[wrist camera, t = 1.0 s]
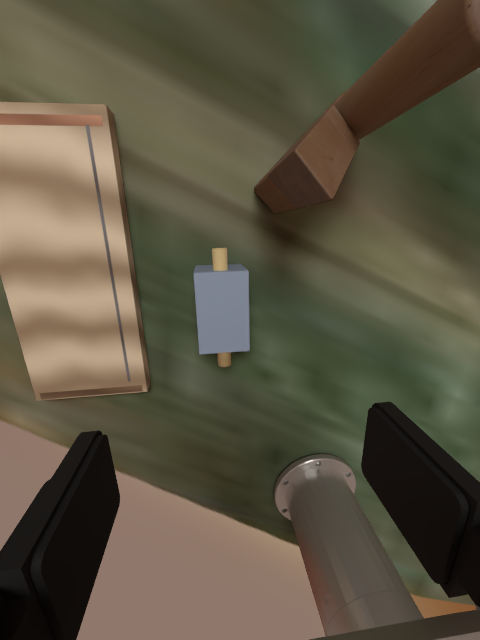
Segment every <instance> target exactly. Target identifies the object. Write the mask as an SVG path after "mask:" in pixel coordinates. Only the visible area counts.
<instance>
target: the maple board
mask: <svg viewBox="0 0 480 640" xmlns="http://www.w3.org/2000/svg"><path fill="white" fill-rule="evenodd" d="M0 275H1V278H2V282H3V285H4V289H5V292H6V295H7V299H8V302H9V306H10V309H11V313H12V316H13V320H14V323H15V327H16V330H17V334H18V337H19V341H20V344H21V348H22V351H23V355H24V358H25V362H26V365H27V369H28V372H29V375H30V379H31V382H32V386H33V389H34V393H35V396H36V400H37V401H38V400H50V399H63V398H75V397H87V396H99V395H111V394H123V393H136V392H147V391H148V388H149V386H150V383H151V382H150V375H149V368H148V361H147V353H146V346H145V339H144V332H143V324H142V317H141V310H140V303H139V295H138V288H137V281H136V273H135V266H134V259H133V252H132V244H131V237H130V230H129V223H128V215H127V208H126V201H125V194H124V186H123V179H122V172H121V165H120V157H119V150H118V143H117V136H116V128H115V121H114V114H113V113H112V112H111V110H110V109H109V108H108V106H107V105H103V104H62V103H21V102H0Z"/></svg>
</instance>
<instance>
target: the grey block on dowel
mask: <svg viewBox="0 0 480 640" xmlns="http://www.w3.org/2000/svg"><path fill="white" fill-rule="evenodd" d="M212 257H213V265H197V266H195V270H194V286H195V299H196V313H197V327H198V340H199V354H211V353H218V365H219V366H221V367H227V366H230V365H231V352H240V351H250V342H249V271H248V270H247V269H246V268H245V267H244V266H243V265H241V264H228V262H227V248H212Z"/></svg>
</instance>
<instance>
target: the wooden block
mask: <svg viewBox="0 0 480 640" xmlns="http://www.w3.org/2000/svg"><path fill="white" fill-rule="evenodd" d="M479 67H480V0H438V1H437V2H436V3H435V4H434V5H433V6H432V7H431V8H430V9H429V10H428V11H427V12H426V13H425V14H424V15H423V16H422V17H421V18H420V19H419V20H418V21H417V22H416V23H415V24H414V25H413V26H412V27H411V28H410V29H409V30H408V31H407V32H406V33H405V34H404V35H403V36H402V37H401V38H400V39H399V40H398V41H397V42H396V43H395V44H394V45H393V46H392V47H391V48H390V49H389V50H388V51H387V52H386V53H385V54H384V55H383V56H382V57H381V58H380V59H379V60H378V61H377V62H376V63H375V64H374V65H373V66H372V67H371V68H370V69H369V70H368V71H367V72H366V73H365V74H364V75H363V76H362V77H361V78H360V79H358V80H357V81H356V82H355V83H354V84H353V85H352V86H351V87H350V88H349V89H348V90H347V91H346V92H344V93H342V94H341V95H340V96H339V97H338V98H337V99H336V100H335V101H334V102H333V103H332V104H331V105H330V106H329V108H328V109H327V110H326V111H325V112H324V113H323V114H322V115H321V116H320V117H319V118H318V119H317V120H316V121H315V123H314V124H313V125H312V126H311V127H310V128H309V129H308V130H307V131H306V132H305V133H304V134H303V135H302V136H301V138H300V139H299V140H298V141H297V142H296V143H295V144H294V145H293V146H292V147H291V148H290V149H289V150H288V151H287V153H286V154H285V155H284V156H283V157H282V158H281V159H280V161H278V162H277V163H276V164H275V165H274V167H273V168H272V169H271V170H270V171H269V172H268V173H267V174H266V175H265V176H264V177H263V178H262V179H261V180H260V182H259V183H258V184H257V185H256V186H255V188H254V190H255V192H256V193H257V195H258V196H259V197H260V198H261V199H262V200H263V201H264V203H265V204H266V205H267V206H268V207H269V208H270V209H271V211H272V212H273V213H275V214H277V213H281V212H285V211H289V210H293V209H298V208H302V207H306V206H309V205H313V204H317V203H321V202H325V201H329V200H332V199H333V198H334V196H335V194H336V192H337V190H338V188H339V185H340V183H341V181H342V179H343V177H344V175H345V173H346V171H347V169H348V167H349V165H350V163H351V161H352V159H353V156H354V154H355V152H356V150H357V148H358V146H359V141H358V140H360V139H361V138H363V137H365V136H366V135H368V134H370V133H371V132H373V131H375V130H376V129H378V128H379V127H381V126H383V125H384V124H386V123H388V122H389V121H391V120H393V119H394V118H396V117H398V116H399V115H401V114H403V113H404V112H406V111H408V110H409V109H411V108H413V107H414V106H416V105H418V104H419V103H421V102H423V101H424V100H426V99H428V98H429V97H431V96H433V95H434V94H436V93H438V92H439V91H441V90H442V89H444V88H446V87H447V86H449V85H451V84H452V83H454V82H456V81H457V80H459V79H461V78H462V77H464V76H466V75H467V74H469V73H471V72H472V71H474V70H476V69H477V68H479Z"/></svg>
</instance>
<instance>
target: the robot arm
mask: <svg viewBox="0 0 480 640" xmlns="http://www.w3.org/2000/svg"><path fill="white" fill-rule="evenodd" d="M361 467H362V472H363V474H364V476H365V478H366V479H367V481H368V482H369V484H370V485H371V487H372V489H373V490H374V492H375V493H376V495H377V496H378V498H379V499H380V501H381V502H382V504H383V505H384V507H385V508H386V510H387V512H388V513H389V515H390V516H391V518H392V519H393V521H394V522H395V524H396V525H397V527H398V528H399V530H400V531H401V533H402V535H403V536H404V538H405V539H406V541H407V542H408V544H409V545H410V547H411V548H412V550H413V551H414V553H415V554H416V556H417V557H418V559H419V561H420V562H421V564H422V565H423V567H424V568H425V570H426V571H427V573H428V574H429V576H430V577H431V579H432V580H433V581H434V582H435V583H437V584H440V585H441V587H442V588H443V590H444V591H445V593H446V594H447V596H448V597H449V598H451V597H457V596H462V595H467V593H468V595H469V596H470V597H471V599H472V600H473V601H474V603H475V605H476V610H473V611H467V612H460V613H453V614H448V615H442V616H436V617H431V618H425V619H424V618H423V616H422V614H421V612H420V611H419V609H418V607H417V606H416V604H415V602H414V600H413V598H412V597H411V595H410V593H409V591H408V589H407V588H406V586H405V584H404V582H403V581H402V579H401V577H400V575H399V574H398V572H397V570H396V568H395V566H394V565H393V563H392V561H391V559H390V558H389V556H388V554H387V552H386V551H385V549H384V547H383V545H382V543H381V542H380V540H379V538H378V536H377V535H376V533H375V531H374V529H373V528H372V526H371V524H370V522H369V521H368V519H367V517H366V515H365V513H364V512H363V510H362V508H361V506H360V505H359V503H358V501H357V499H356V498H355V496H354V493H355V489H356V479H355V475H354V473H353V471H352V470H351V468H350V467H349V465H348V464H347V463H346V462H345V461H344V460H342V459H340V458H338V457H336V456H333V455H327V454H317V455H311V456H307V457H304V458H302V459H299V460H297V461H296V462H294V463H292V464H291V465H290V466H288V467H287V468H286V469H285V470H284V471H283V472H282V473H281V474H280V476H279V478H278V479H277V481H276V484H275V487H274V499H275V503H276V506H277V508H278V510H279V512H280V513H281V514H282V515H283V516H284V517H286V518H287V519H289V520H291V521H292V524H293V527H294V531H295V534H296V537H297V541H298V544H299V548H300V551H301V554H302V558H303V561H304V564H305V568H306V571H307V574H308V578H309V581H310V585H311V588H312V591H313V595H314V598H315V601H316V605H317V608H318V611H319V615H320V618H321V621H322V625H323V628H324V631H325V635H326V637H321V638H316V639H310V640H480V482H479V481H478V480H476V479H475V478H474V477H473V476H472V475H471V474H470V473H469V472H468V471H467V470H465V469H464V468H463V467H462V466H461V465H460V464H459V463H458V462H457V461H456V460H454V459H453V458H452V457H451V456H450V455H449V454H448V453H447V452H446V451H445V450H443V449H442V448H441V447H440V446H439V445H438V444H437V443H436V442H435V441H434V440H432V439H431V438H430V437H429V436H428V435H427V434H426V433H425V432H424V431H423V430H421V429H420V428H419V427H418V426H417V425H416V424H415V423H414V422H413V421H412V420H410V419H409V418H408V417H407V416H406V415H405V414H404V413H403V412H402V411H401V410H399V409H398V408H397V407H396V406H395V405H394V404H393V403H391V402H383V403H375V404H373V405H372V408H370V409H369V411H368V417H367V425H366V433H365V440H364V448H363V456H362V463H361ZM119 503H120V494H119V489H118V484H117V479H116V475H115V470H114V465H113V460H112V456H111V451H110V446H109V441H108V437H107V435H102V433H101V431H91V432H82V433H80V434H79V436H78V437H77V439H76V440H75V442H74V443H73V445H72V447H71V448H70V450H69V451H68V453H67V455H66V456H65V458H64V459H63V461H62V463H61V464H60V465H59V467H58V469H57V470H56V472H55V473H54V475H53V476H52V478H51V479H50V480H48V481H47V482H46V483H45V484H44V485H43V487H42V488H41V489H40V491H39V492H38V494H37V496H36V497H35V499H34V500H33V502H32V503H31V505H30V506H29V508H28V509H27V511H26V513H25V514H24V516H23V517H22V519H21V520H20V522H19V523H18V525H17V526H16V528H15V529H14V531H13V533H12V534H11V536H10V537H9V539H8V541H7V542H6V544H5V545H4V546H3V548H2V549H1V551H0V640H76V638H77V635H78V632H79V629H80V626H81V623H82V620H83V617H84V614H85V611H86V607H87V604H88V601H89V598H90V595H91V592H92V589H93V586H94V582H95V579H96V576H97V573H98V570H99V567H100V564H101V561H102V558H103V555H104V551H105V548H106V545H107V542H108V539H109V536H110V533H111V530H112V527H113V523H114V520H115V517H116V514H117V511H118V508H119Z"/></svg>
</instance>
